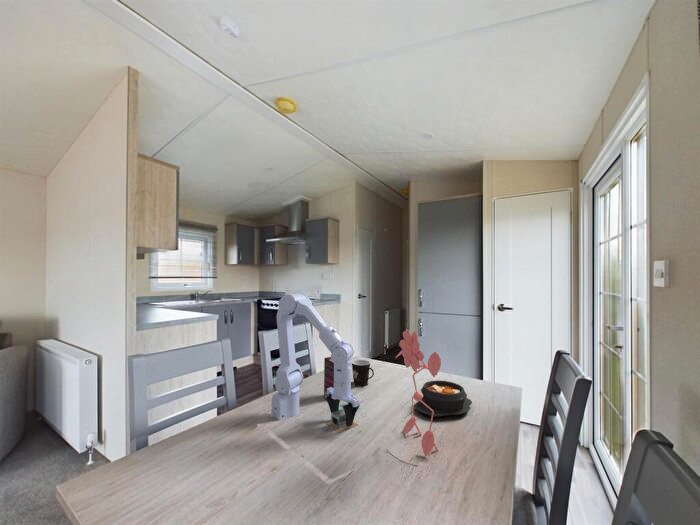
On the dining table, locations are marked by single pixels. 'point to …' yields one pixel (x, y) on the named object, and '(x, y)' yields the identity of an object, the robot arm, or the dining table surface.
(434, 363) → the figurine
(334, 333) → the robot arm
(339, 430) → the stand
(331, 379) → the supplement box
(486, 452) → the dining table surface
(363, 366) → the coffee mug
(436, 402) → the casserole
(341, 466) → the dining table surface
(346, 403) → the stand
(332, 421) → the box
